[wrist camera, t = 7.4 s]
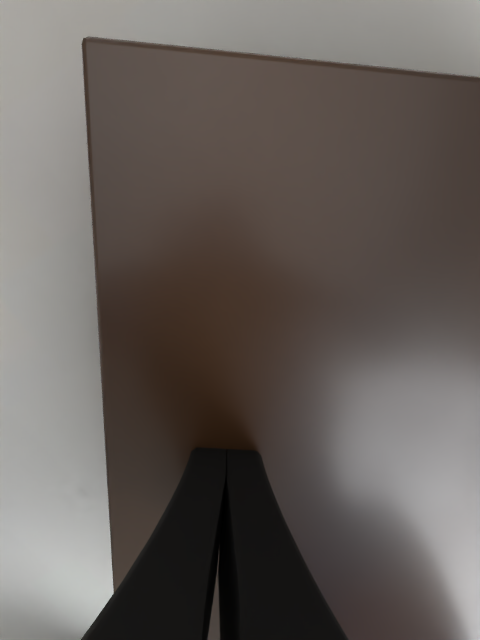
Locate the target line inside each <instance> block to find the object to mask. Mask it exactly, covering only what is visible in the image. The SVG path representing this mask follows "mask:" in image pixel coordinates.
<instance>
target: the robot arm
mask: <svg viewBox="0 0 480 640" xmlns="http://www.w3.org/2000/svg"><path fill="white" fill-rule="evenodd" d="M219 545H220V546H219ZM218 556H219V564H218ZM217 567H218V591H219V625H220V640H349V639H348V637H347V636H346V634H345V633H344V631H343V629H342V628H341V626H340V624H339V623H338V621H337V619H336V617H335V616H334V614H333V612H332V611H331V609H330V607H329V605H328V603H327V602H326V600H325V598H324V596H323V595H322V593H321V591H320V589H319V587H318V585H317V583H316V582H315V580H314V578H313V576H312V574H311V572H310V570H309V569H308V567H307V565H306V563H305V561H304V559H303V557H302V555H301V553H300V551H299V549H298V547H297V545H296V542H295V540H294V538H293V536H292V534H291V532H290V530H289V528H288V525H287V523H286V521H285V519H284V517H283V514H282V512H281V510H280V507H279V505H278V503H277V500H276V498H275V495H274V493H273V490H272V487H271V485H270V482H269V479H268V476H267V474H266V470H265V467H264V464H263V460H262V456H261V455H260V454H259V453H258V452H257V451H252V450H236V449H227V458H226V449H221V448H201V447H197V448H195V449H194V450H192V451H191V453H190V457H189V460H188V463H187V465H186V468H185V470H184V473H183V475H182V477H181V480H180V482H179V484H178V486H177V488H176V490H175V492H174V494H173V496H172V498H171V500H170V502H169V504H168V506H167V507H166V509H165V511H164V513H163V515H162V517H161V518H160V520H159V522H158V524H157V526H156V527H155V529H154V531H153V533H152V534H151V536H150V538H149V540H148V541H147V543H146V544H145V546H144V548H143V549H142V551H141V552H140V554H139V555H138V557H137V559H136V560H135V562H134V563H133V565H132V567H131V568H130V570H129V571H128V573H127V574H126V576H125V578H124V579H123V581H122V582H121V584H120V585H119V587H118V588H117V590H116V591H115V593H114V594H113V595H112V597H111V598H110V600H109V601H108V603H107V604H106V606H105V607H104V608H103V610H102V611H101V613H100V614H99V616H98V617H97V618H96V620H95V621H94V622H93V624H92V625H91V626H90V628H89V629H88V631H87V632H86V633H85V635H84V636H83V637H82V639H81V640H208V633H209V626H210V619H211V612H212V605H213V598H214V591H215V584H216V576H217Z"/></svg>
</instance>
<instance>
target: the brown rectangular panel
mask: <svg viewBox="0 0 480 640" xmlns="http://www.w3.org/2000/svg"><path fill="white" fill-rule="evenodd" d="M82 58H83V75H84V92H85V109H86V126H87V143H88V161H89V178H90V195H91V212H92V229H93V246H94V263H95V280H96V297H97V315H98V332H99V349H100V366H101V383H102V400H103V417H104V434H105V451H106V469H107V486H108V503H109V520H110V537H111V554H112V571H113V588H114V593H115V591H116V590H117V588H118V587H119V585H120V584H121V582H122V581H123V579H124V578H125V576H126V574H127V573H128V571H129V570H130V568H131V567H132V565H133V563H134V562H135V560H136V559H137V557H138V555H139V554H140V552H141V551H142V549H143V548H144V546H145V544H146V543H147V541H148V540H149V538H150V536H151V534H152V533H153V531H154V529H155V527H156V526H157V524H158V522H159V520H160V518H161V517H162V515H163V513H164V511H165V509H166V507H167V506H168V504H169V502H170V500H171V498H172V496H173V494H174V492H175V490H176V488H177V486H178V484H179V482H180V480H181V477H182V475H183V473H184V470H185V468H186V465H187V463H188V460H189V457H190V453H191V451H192V450H194V449H195V448H197V447H201V448H221V449H226V458H227V449H236V450H252V451H257V452H258V453H259V454H260V455H261V456H262V460H263V464H264V467H265V470H266V474H267V476H268V479H269V482H270V485H271V487H272V490H273V493H274V495H275V498H276V500H277V503H278V505H279V507H280V510H281V512H282V514H283V517H284V519H285V521H286V523H287V525H288V528H289V530H290V532H291V534H292V536H293V538H294V540H295V542H296V545H297V547H298V549H299V551H300V553H301V555H302V557H303V559H304V561H305V563H306V565H307V567H308V569H309V570H310V572H311V574H312V576H313V578H314V580H315V582H316V583H317V585H318V587H319V589H320V591H321V593H322V595H323V596H324V598H325V600H326V602H327V603H328V605H329V607H330V609H331V611H332V612H333V614H334V616H335V617H336V619H337V621H338V623H339V624H340V626H341V628H342V629H343V631H344V633H345V634H346V636H347V637H348V639H349V640H480V77H476V76H466V75H457V74H447V73H437V72H428V71H418V70H408V69H398V68H389V67H379V66H369V65H360V64H350V63H340V62H331V61H321V60H311V59H301V58H292V57H282V56H272V55H263V54H253V53H243V52H234V51H224V50H214V49H205V48H195V47H185V46H175V45H166V44H156V43H146V42H137V41H127V40H117V39H108V38H98V37H86V38H83V41H82ZM219 546H220V545H219ZM218 564H219V556H218ZM208 640H220V625H219V591H218V567H217V576H216V584H215V591H214V598H213V605H212V612H211V619H210V626H209V633H208Z"/></svg>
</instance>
